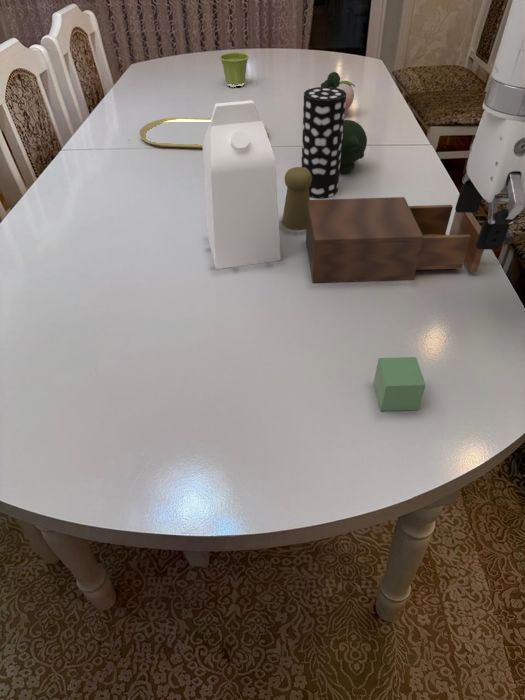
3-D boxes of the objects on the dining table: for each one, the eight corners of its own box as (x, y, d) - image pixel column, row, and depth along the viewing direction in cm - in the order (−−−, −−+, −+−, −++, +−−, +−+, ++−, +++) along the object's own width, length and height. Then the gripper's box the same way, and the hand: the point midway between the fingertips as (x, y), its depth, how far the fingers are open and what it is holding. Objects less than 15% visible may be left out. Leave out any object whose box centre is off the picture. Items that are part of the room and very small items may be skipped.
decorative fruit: (326, 122, 141) (328, 83, 134) (317, 112, 146) (319, 75, 140) (357, 118, 142) (361, 80, 135) (347, 109, 148) (350, 72, 141)
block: (409, 382, 69) (416, 356, 66) (417, 410, 66) (425, 384, 62) (373, 383, 69) (378, 357, 66) (380, 411, 66) (386, 386, 62)
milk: (266, 228, 100) (264, 88, 82) (280, 260, 92) (281, 112, 73) (207, 236, 98) (191, 95, 80) (216, 269, 90) (200, 120, 72)
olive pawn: (278, 227, 100) (278, 174, 92) (287, 213, 104) (288, 161, 96) (306, 232, 98) (309, 179, 91) (315, 217, 102) (318, 165, 95)
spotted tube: (345, 191, 110) (355, 94, 96) (316, 202, 107) (321, 103, 93) (321, 178, 115) (327, 84, 102) (293, 187, 112) (295, 92, 98)
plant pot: (254, 82, 168) (253, 53, 162) (242, 91, 162) (240, 61, 156) (229, 79, 171) (228, 51, 165) (217, 88, 165) (214, 58, 159)
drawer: (488, 233, 95) (499, 200, 90) (512, 270, 86) (526, 236, 81) (369, 236, 95) (373, 204, 90) (381, 274, 86) (387, 240, 81)
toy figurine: (307, 150, 131) (333, 184, 112) (309, 69, 119) (338, 91, 100) (342, 147, 132) (374, 180, 113) (347, 66, 120) (383, 88, 101)
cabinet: (396, 238, 96) (404, 196, 90) (413, 280, 86) (423, 236, 80) (305, 241, 96) (307, 199, 90) (312, 283, 86) (314, 240, 80)
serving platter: (262, 153, 126) (262, 146, 125) (130, 148, 130) (129, 142, 129) (271, 125, 140) (271, 120, 138) (152, 122, 144) (151, 116, 143)
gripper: (588, 124, 51) (526, 264, 63) (524, 74, 63) (483, 199, 75) (514, 124, 51) (467, 264, 63) (465, 74, 63) (433, 199, 75)
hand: (476, 228), depth 69 cm, fingers open, 9 cm apart
